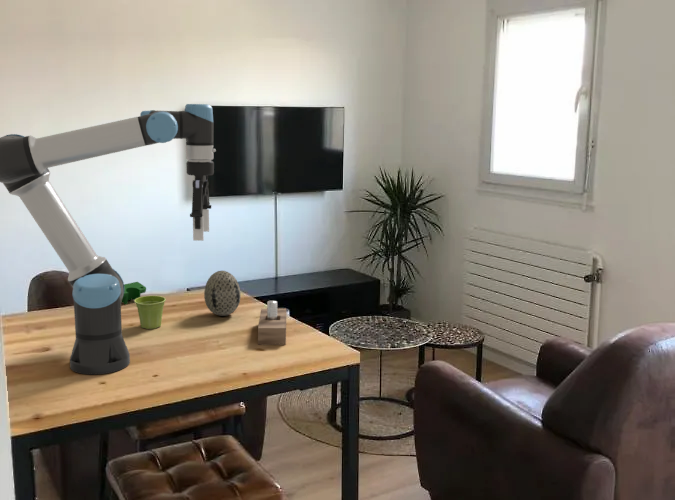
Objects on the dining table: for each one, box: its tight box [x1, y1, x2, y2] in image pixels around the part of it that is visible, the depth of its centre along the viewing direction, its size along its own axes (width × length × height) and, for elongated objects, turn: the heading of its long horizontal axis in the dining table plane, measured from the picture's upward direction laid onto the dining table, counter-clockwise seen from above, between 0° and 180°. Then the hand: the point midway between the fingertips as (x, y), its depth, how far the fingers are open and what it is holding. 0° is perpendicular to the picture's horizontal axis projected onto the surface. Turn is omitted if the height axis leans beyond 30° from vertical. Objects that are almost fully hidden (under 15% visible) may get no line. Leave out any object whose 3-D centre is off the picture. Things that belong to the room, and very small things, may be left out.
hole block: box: [257, 307, 287, 346], centre depth 221 cm, size 20×8×5 cm, turn 3°
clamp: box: [121, 281, 147, 306], centre depth 252 cm, size 12×6×9 cm, turn 133°
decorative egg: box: [203, 270, 241, 317], centre depth 237 cm, size 12×12×15 cm
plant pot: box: [133, 295, 167, 330], centre depth 225 cm, size 9×9×9 cm
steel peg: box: [266, 300, 278, 320], centre depth 220 cm, size 3×3×10 cm
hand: (201, 235), depth 206 cm, fingers open, 13 cm apart
